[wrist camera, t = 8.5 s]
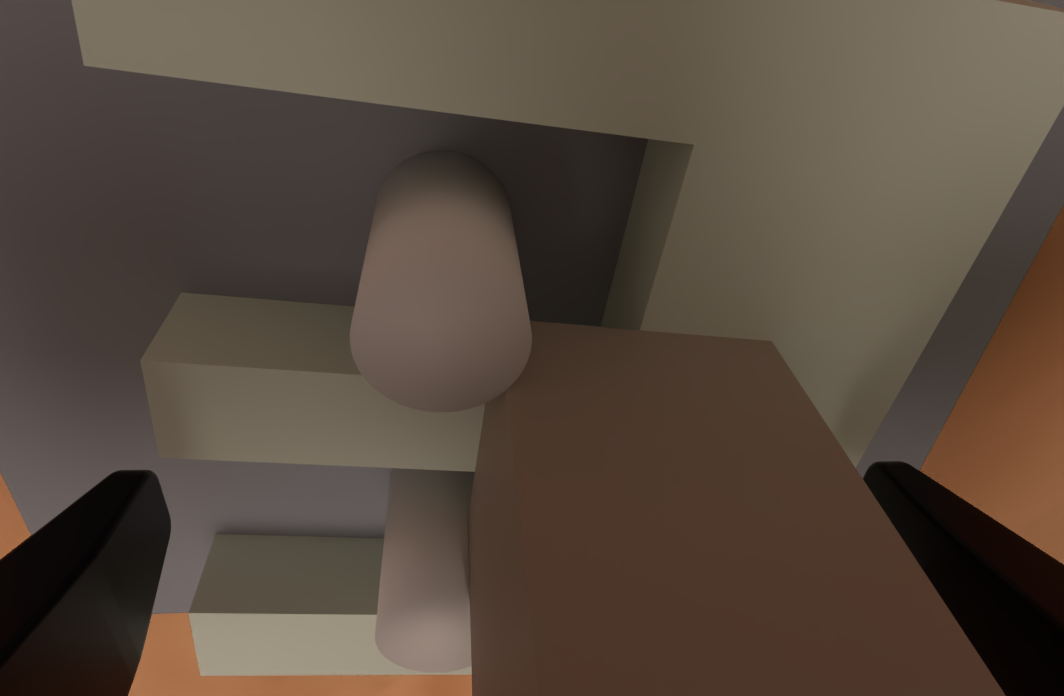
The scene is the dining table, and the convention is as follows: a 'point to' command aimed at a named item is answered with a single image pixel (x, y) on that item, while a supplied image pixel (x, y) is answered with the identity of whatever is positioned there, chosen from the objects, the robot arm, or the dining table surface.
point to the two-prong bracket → (630, 336)
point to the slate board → (334, 292)
